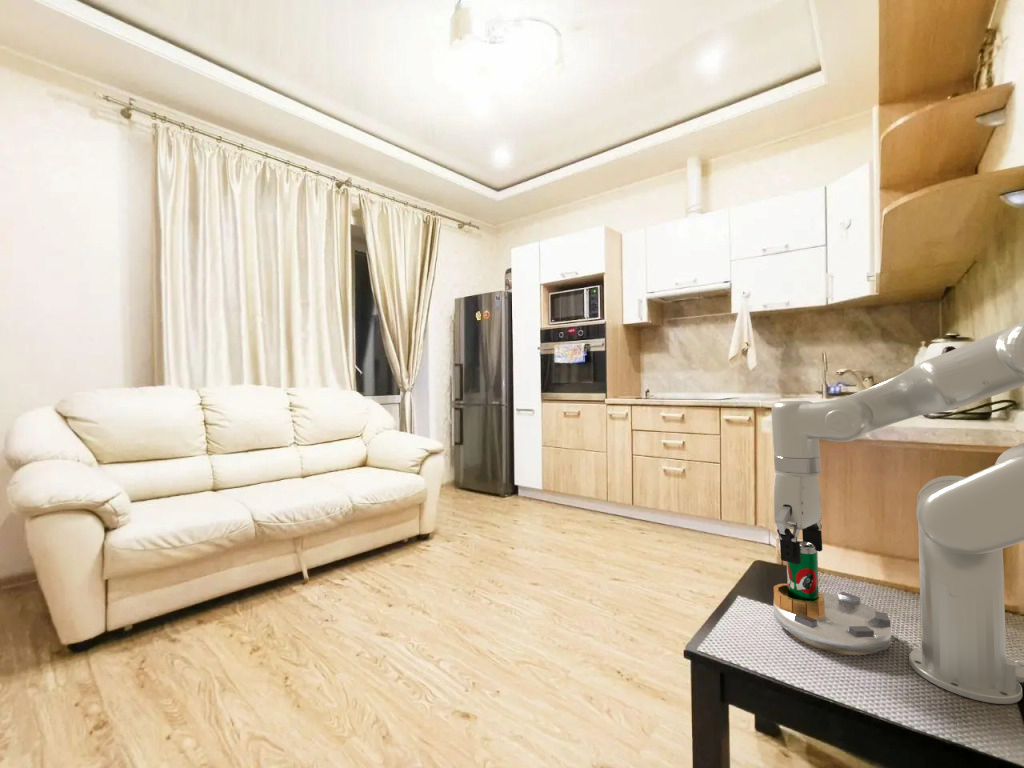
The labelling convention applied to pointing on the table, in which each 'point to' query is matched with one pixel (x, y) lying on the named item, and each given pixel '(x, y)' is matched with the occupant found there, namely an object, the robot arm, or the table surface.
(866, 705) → the table surface
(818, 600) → the oval platform with pads
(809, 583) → the soda can
